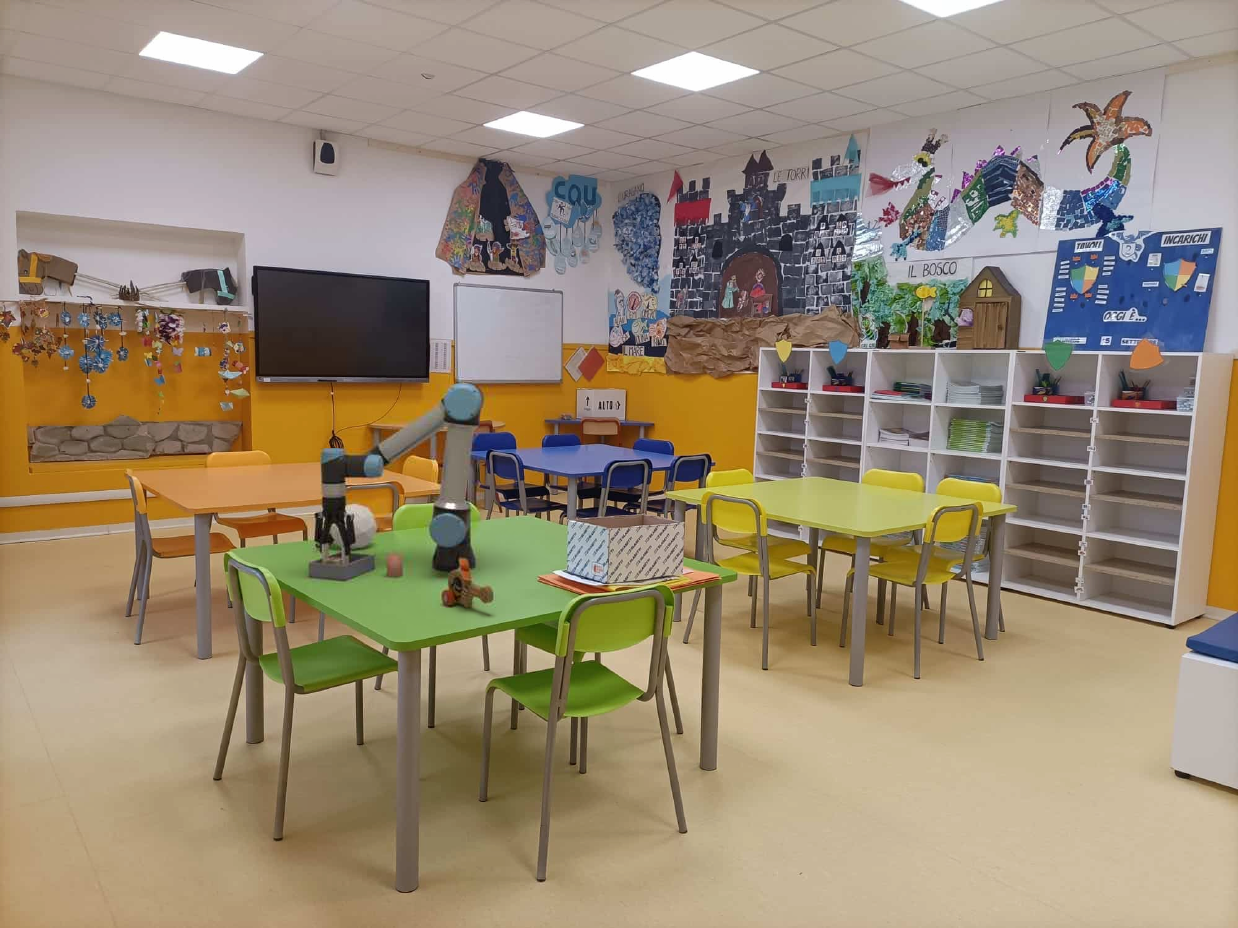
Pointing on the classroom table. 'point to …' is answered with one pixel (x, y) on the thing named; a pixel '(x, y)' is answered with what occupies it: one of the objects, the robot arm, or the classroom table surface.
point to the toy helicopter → (464, 587)
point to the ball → (355, 527)
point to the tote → (342, 567)
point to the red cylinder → (394, 565)
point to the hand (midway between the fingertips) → (335, 563)
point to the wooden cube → (333, 561)
